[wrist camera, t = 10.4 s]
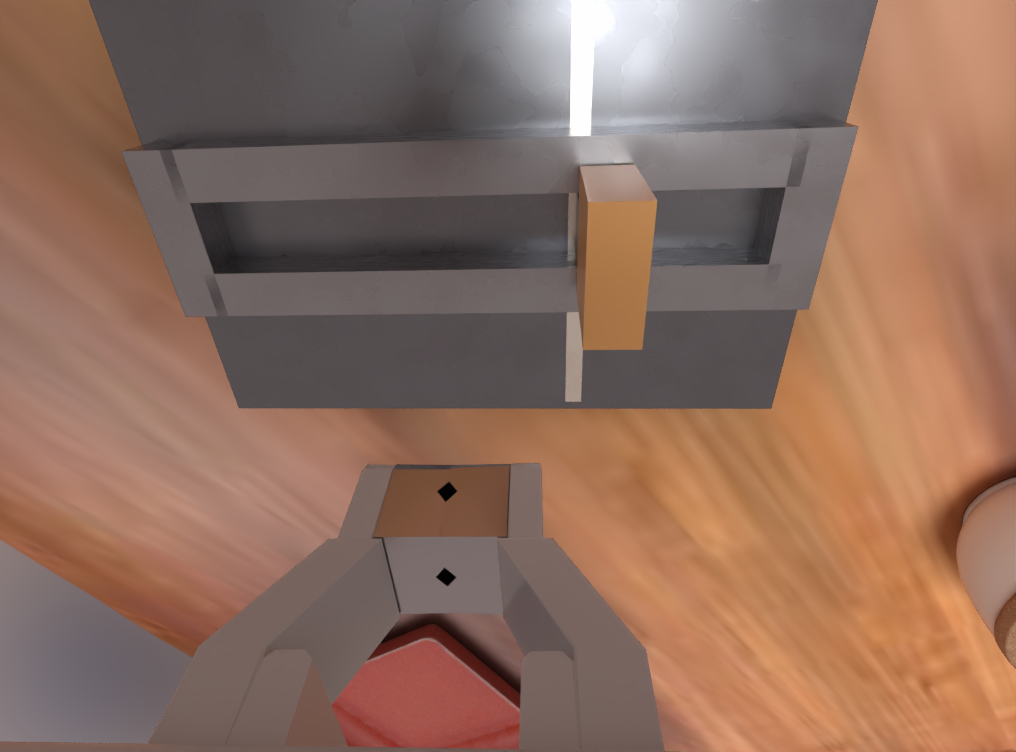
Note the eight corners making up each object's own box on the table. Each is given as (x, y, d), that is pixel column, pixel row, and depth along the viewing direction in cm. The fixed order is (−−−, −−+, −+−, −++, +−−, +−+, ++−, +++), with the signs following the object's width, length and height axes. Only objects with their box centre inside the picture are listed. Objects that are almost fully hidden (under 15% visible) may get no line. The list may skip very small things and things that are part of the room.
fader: (574, 273, 25) (582, 350, 19) (577, 155, 22) (588, 202, 16) (619, 273, 25) (642, 349, 19) (628, 153, 22) (657, 200, 16)
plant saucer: (278, 666, 48) (262, 705, 46) (437, 598, 42) (429, 639, 39) (414, 754, 56) (407, 793, 53) (566, 708, 49) (568, 749, 47)
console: (255, 387, 32) (220, 431, 29) (105, -50, 21) (23, -63, 18) (758, 386, 30) (785, 433, 27) (874, -97, 19) (944, -122, 16)
